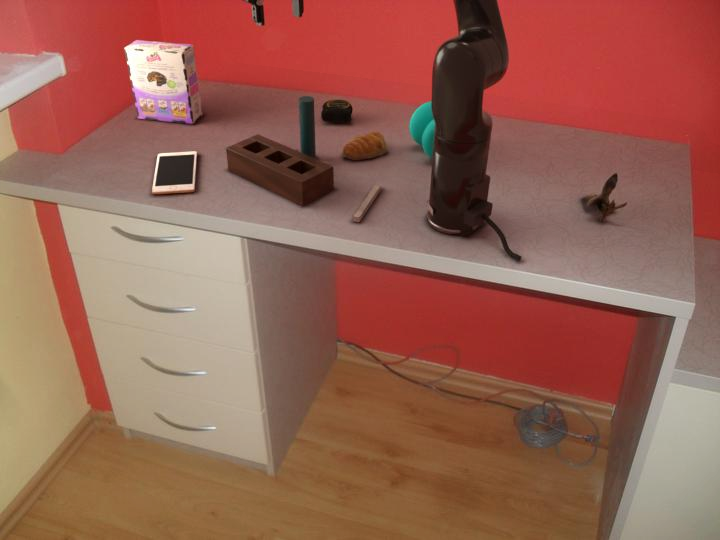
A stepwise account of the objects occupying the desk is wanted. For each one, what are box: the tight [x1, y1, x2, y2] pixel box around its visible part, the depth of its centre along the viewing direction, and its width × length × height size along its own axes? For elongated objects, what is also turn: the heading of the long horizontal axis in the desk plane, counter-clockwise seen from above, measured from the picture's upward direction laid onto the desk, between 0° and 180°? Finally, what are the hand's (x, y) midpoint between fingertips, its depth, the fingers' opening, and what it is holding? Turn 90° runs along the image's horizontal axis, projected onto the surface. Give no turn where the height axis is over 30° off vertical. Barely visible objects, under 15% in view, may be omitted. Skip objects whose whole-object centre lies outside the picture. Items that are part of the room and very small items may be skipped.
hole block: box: [225, 133, 335, 207], centre depth 136 cm, size 8×21×5 cm, turn 49°
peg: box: [298, 95, 317, 159], centre depth 141 cm, size 3×3×13 cm
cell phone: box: [151, 150, 198, 195], centre depth 138 cm, size 8×16×1 cm, turn 9°
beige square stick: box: [352, 183, 382, 223], centre depth 129 cm, size 12×1×1 cm, turn 160°
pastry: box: [342, 130, 389, 161], centre depth 146 cm, size 9×7×4 cm
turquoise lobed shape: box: [408, 100, 435, 160], centre depth 144 cm, size 10×10×10 cm
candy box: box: [123, 39, 203, 125], centre depth 156 cm, size 14×6×16 cm, turn 77°
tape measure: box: [320, 99, 353, 124], centre depth 159 cm, size 7×7×4 cm
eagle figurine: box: [580, 172, 628, 222], centre depth 127 cm, size 8×7×9 cm
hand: (279, 20), depth 132 cm, fingers open, 8 cm apart
